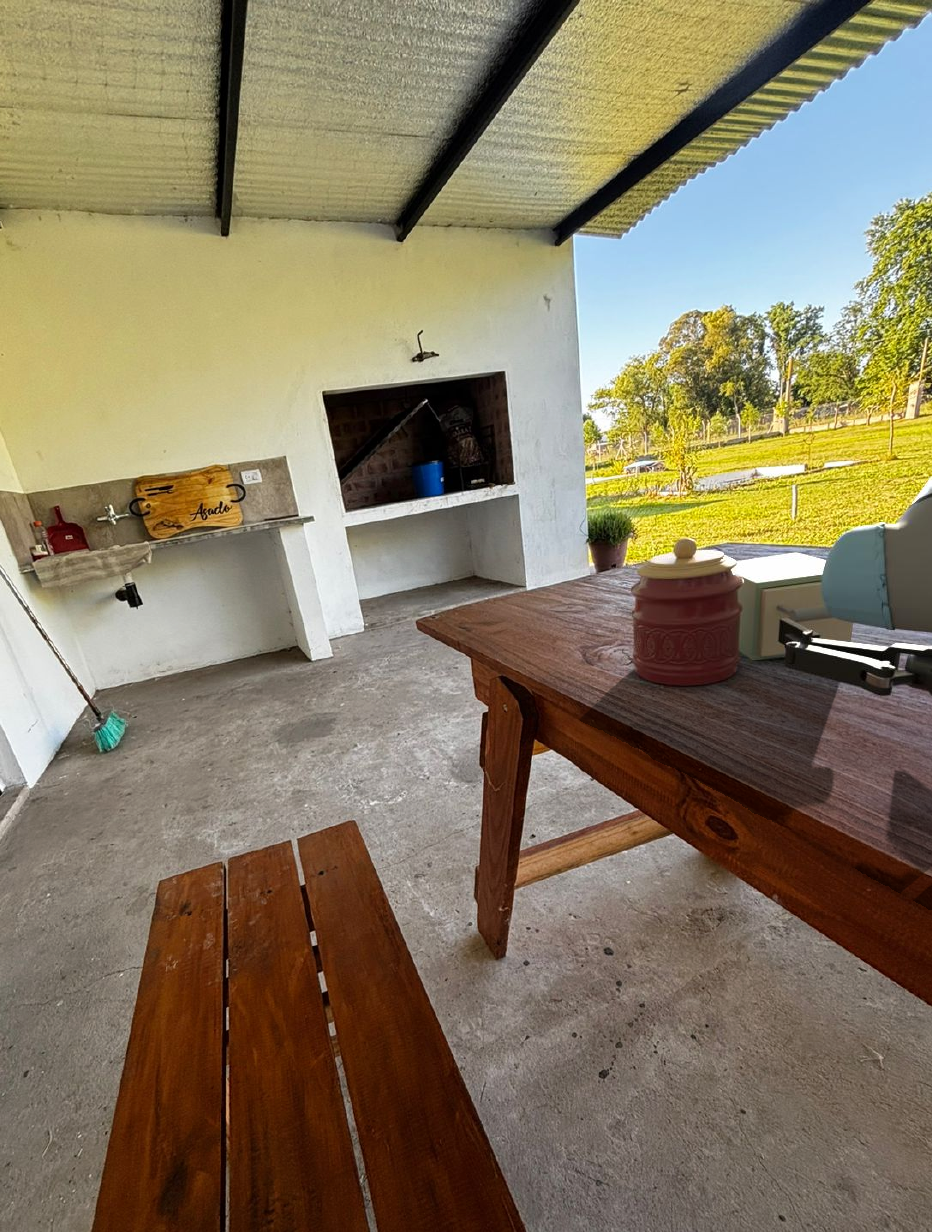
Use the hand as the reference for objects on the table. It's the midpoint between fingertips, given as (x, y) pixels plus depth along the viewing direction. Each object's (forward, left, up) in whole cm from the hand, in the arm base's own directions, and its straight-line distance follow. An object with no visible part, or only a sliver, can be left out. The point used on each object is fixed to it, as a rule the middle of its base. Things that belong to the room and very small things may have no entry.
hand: (849, 621), depth 58 cm
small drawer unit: (0, -17, -7) cm, 18 cm away
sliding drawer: (0, -12, -6) cm, 14 cm away
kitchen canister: (+14, -9, -7) cm, 19 cm away
